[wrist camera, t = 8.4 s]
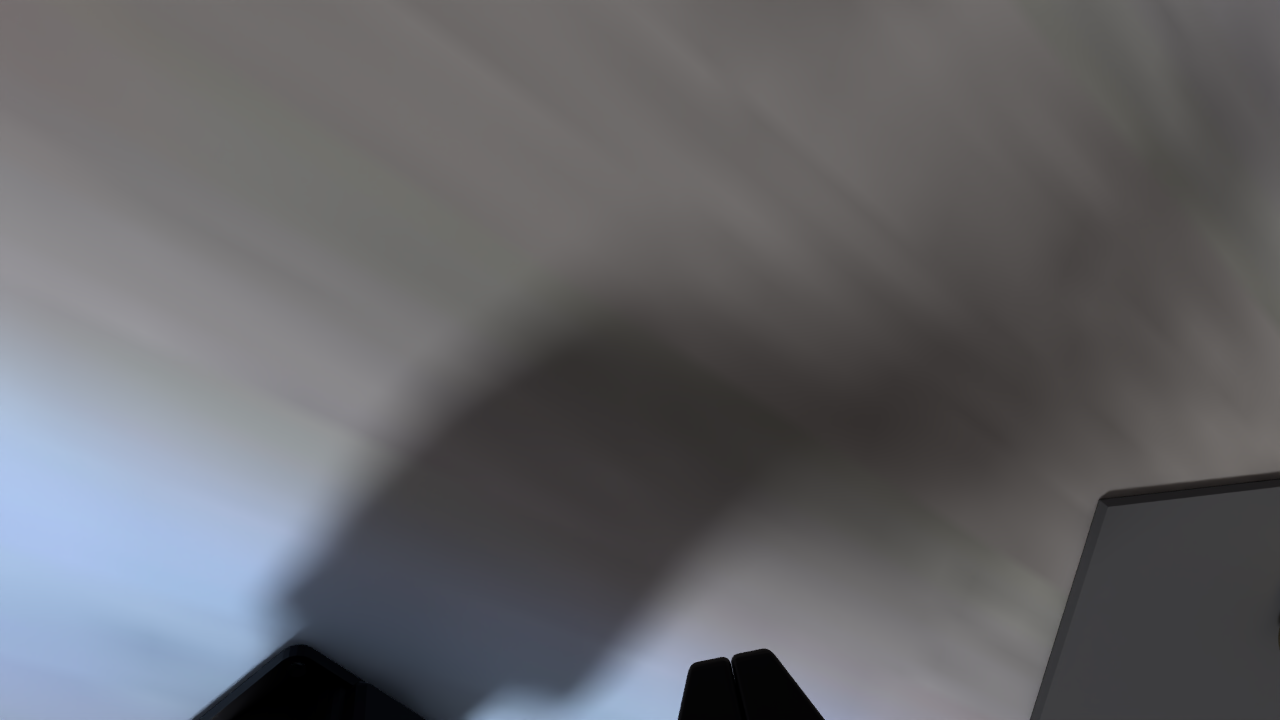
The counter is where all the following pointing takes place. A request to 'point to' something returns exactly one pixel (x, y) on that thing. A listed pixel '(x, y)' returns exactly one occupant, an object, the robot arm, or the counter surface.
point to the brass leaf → (1279, 638)
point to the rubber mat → (1173, 611)
